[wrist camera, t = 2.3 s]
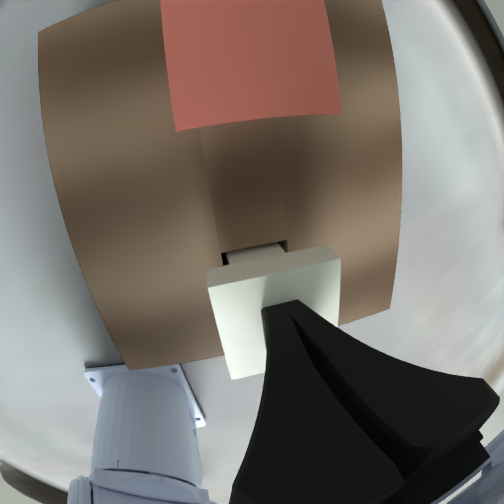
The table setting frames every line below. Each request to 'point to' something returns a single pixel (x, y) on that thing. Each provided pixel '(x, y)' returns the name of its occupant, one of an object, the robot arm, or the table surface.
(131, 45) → the panel
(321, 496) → the robot arm
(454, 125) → the table surface
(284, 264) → the cream button
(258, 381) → the table surface
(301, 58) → the red button
